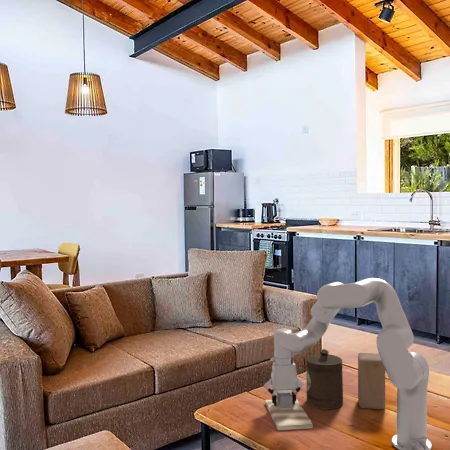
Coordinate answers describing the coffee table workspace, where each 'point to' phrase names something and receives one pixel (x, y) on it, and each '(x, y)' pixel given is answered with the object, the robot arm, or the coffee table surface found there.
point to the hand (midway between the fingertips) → (284, 403)
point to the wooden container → (324, 381)
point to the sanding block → (284, 399)
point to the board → (289, 416)
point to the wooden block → (371, 381)
